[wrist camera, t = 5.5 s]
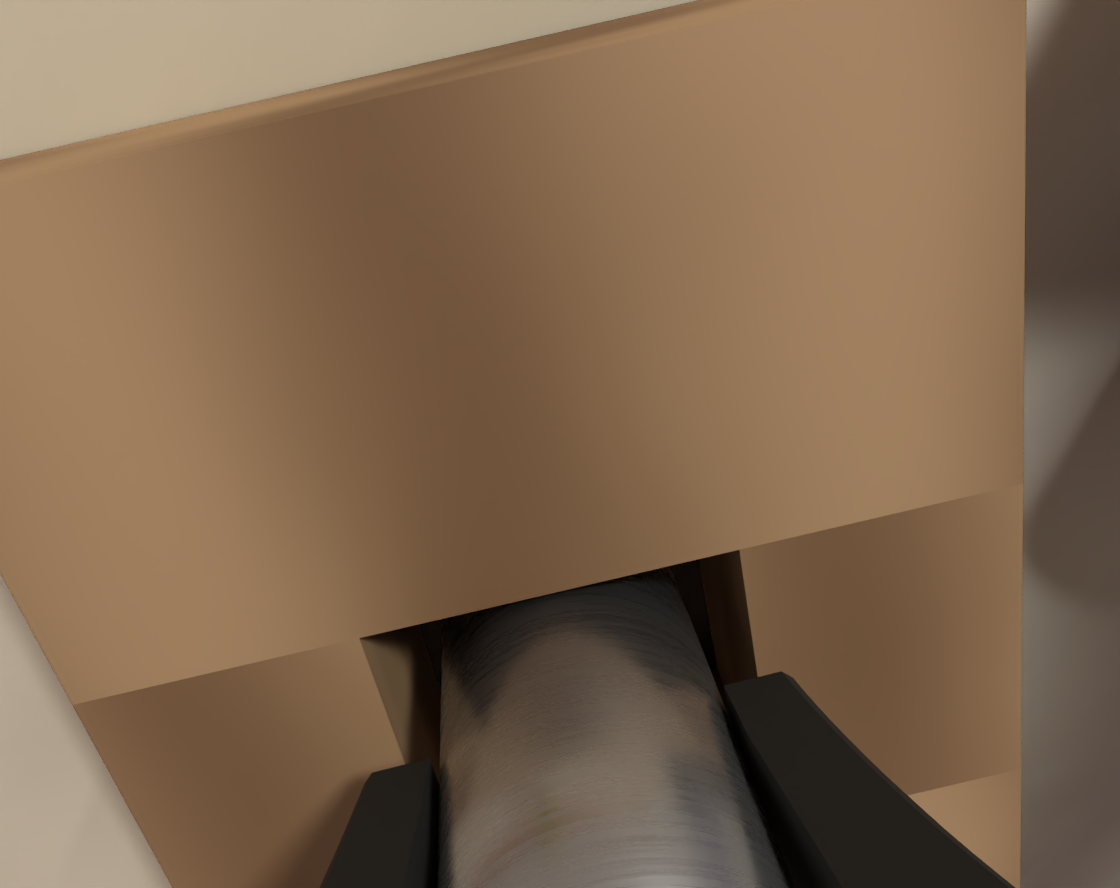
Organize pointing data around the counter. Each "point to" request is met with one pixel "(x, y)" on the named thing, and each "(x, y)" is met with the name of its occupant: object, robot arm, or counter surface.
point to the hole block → (529, 400)
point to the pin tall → (593, 749)
